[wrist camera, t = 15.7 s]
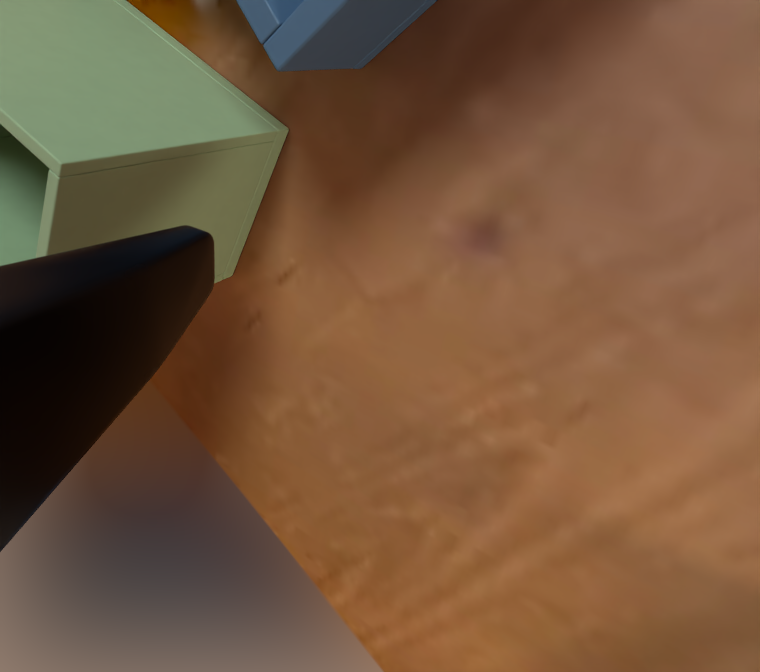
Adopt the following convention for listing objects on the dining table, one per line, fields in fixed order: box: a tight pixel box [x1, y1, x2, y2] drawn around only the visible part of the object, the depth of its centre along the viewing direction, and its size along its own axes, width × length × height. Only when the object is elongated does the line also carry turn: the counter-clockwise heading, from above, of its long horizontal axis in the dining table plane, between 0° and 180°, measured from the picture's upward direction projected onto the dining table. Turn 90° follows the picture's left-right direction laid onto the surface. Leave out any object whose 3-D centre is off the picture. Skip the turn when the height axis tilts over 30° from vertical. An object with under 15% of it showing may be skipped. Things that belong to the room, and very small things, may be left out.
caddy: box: [0, 0, 289, 283], centre depth 21 cm, size 10×7×8 cm, turn 59°
